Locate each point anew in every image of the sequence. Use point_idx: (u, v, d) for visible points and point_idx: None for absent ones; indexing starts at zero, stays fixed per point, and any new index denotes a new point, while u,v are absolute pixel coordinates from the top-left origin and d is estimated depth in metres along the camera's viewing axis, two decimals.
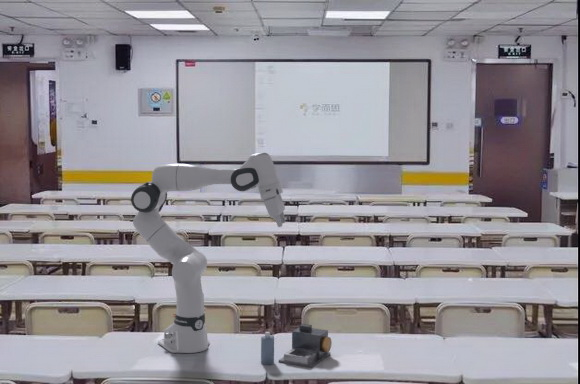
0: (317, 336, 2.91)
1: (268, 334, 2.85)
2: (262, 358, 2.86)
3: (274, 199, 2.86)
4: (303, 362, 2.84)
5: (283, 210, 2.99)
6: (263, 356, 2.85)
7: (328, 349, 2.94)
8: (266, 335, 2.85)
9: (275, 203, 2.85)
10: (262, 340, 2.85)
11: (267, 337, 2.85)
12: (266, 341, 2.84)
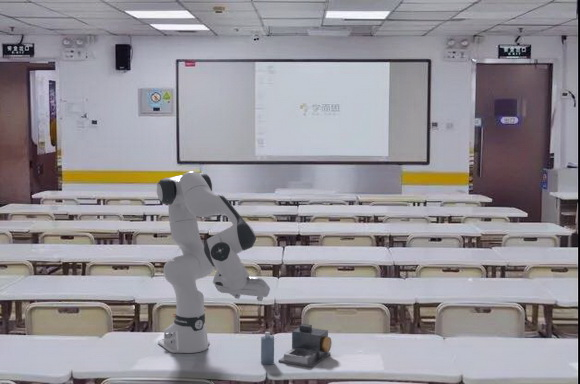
0: (317, 336, 2.91)
1: (268, 334, 2.85)
2: (262, 358, 2.86)
3: None
4: (303, 362, 2.84)
5: (252, 295, 2.68)
6: (263, 356, 2.85)
7: (328, 349, 2.94)
8: (266, 335, 2.85)
9: None
10: (262, 340, 2.85)
11: (267, 337, 2.85)
12: (266, 341, 2.84)
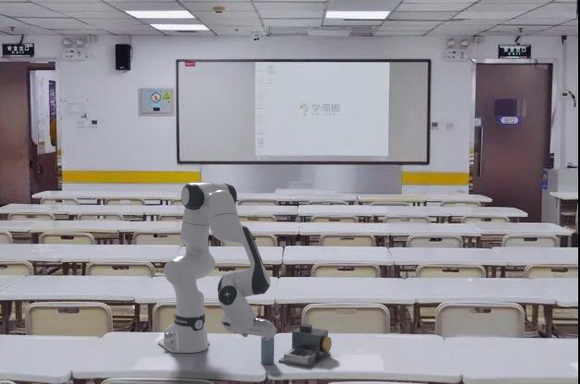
0: (317, 336, 2.91)
1: None
2: (262, 358, 2.86)
3: None
4: (303, 362, 2.84)
5: None
6: (263, 356, 2.85)
7: (328, 349, 2.94)
8: None
9: None
10: (262, 340, 2.85)
11: None
12: (266, 341, 2.84)
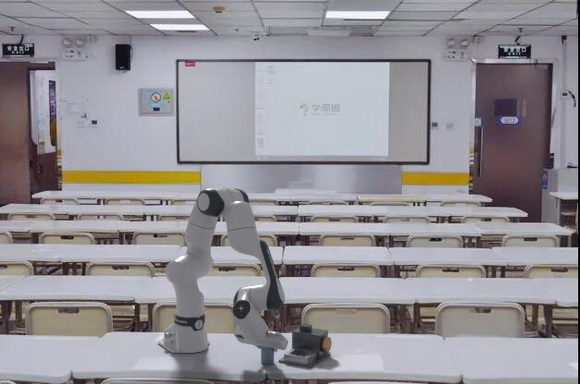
0: (317, 336, 2.91)
1: None
2: (262, 358, 2.86)
3: None
4: (303, 362, 2.84)
5: (271, 347, 2.81)
6: (263, 356, 2.85)
7: (328, 349, 2.94)
8: None
9: None
10: None
11: None
12: None
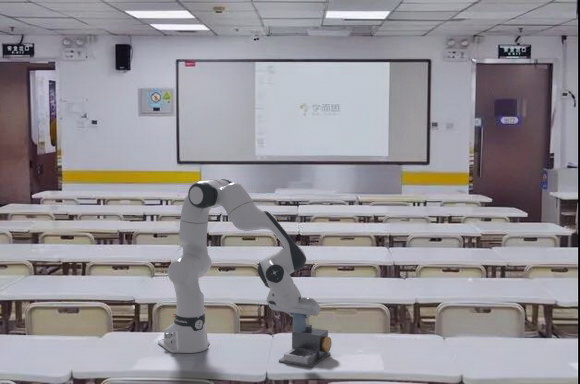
0: (317, 336, 2.91)
1: None
2: (294, 325, 2.86)
3: None
4: (303, 362, 2.84)
5: None
6: (295, 323, 2.86)
7: (328, 349, 2.94)
8: None
9: None
10: None
11: None
12: None
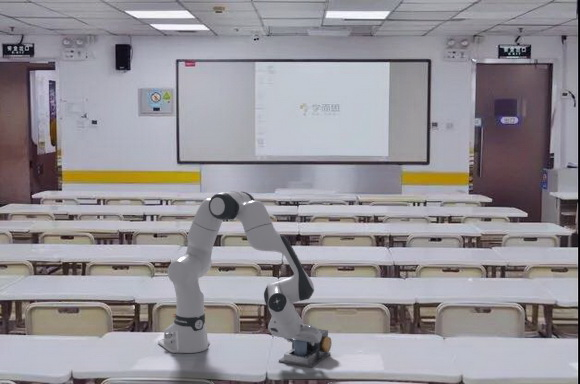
0: None
1: None
2: (295, 354, 2.88)
3: None
4: (303, 362, 2.84)
5: None
6: (296, 352, 2.88)
7: (328, 349, 2.94)
8: None
9: None
10: None
11: None
12: None
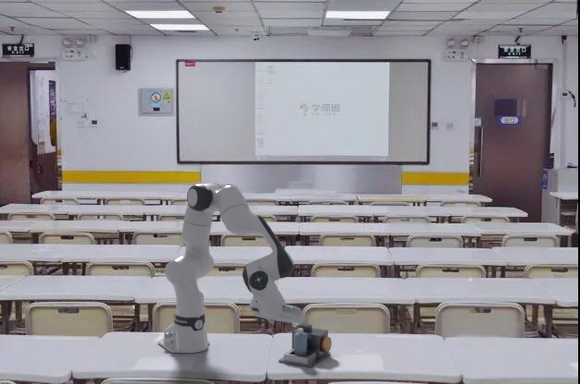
0: (317, 336, 2.91)
1: (301, 330, 2.88)
2: (295, 354, 2.88)
3: None
4: (303, 362, 2.84)
5: (287, 322, 2.71)
6: (296, 352, 2.87)
7: (328, 349, 2.94)
8: (299, 331, 2.88)
9: None
10: (295, 336, 2.87)
11: (300, 333, 2.88)
12: (299, 337, 2.86)
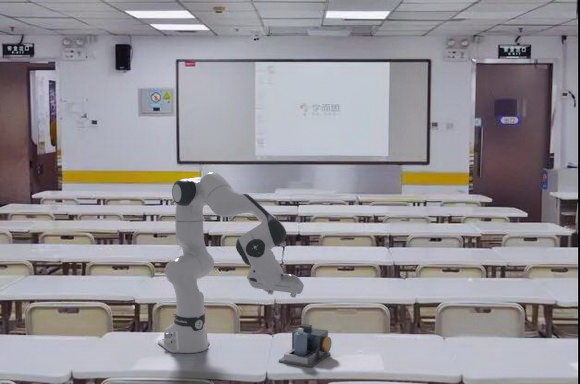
0: (317, 336, 2.91)
1: (301, 330, 2.88)
2: (295, 354, 2.88)
3: None
4: (303, 362, 2.84)
5: None
6: (296, 352, 2.88)
7: (328, 349, 2.94)
8: (299, 331, 2.88)
9: None
10: (295, 336, 2.87)
11: (300, 333, 2.88)
12: (299, 337, 2.87)
